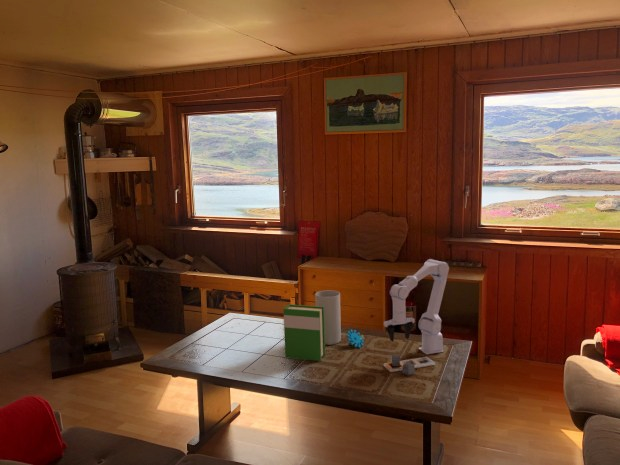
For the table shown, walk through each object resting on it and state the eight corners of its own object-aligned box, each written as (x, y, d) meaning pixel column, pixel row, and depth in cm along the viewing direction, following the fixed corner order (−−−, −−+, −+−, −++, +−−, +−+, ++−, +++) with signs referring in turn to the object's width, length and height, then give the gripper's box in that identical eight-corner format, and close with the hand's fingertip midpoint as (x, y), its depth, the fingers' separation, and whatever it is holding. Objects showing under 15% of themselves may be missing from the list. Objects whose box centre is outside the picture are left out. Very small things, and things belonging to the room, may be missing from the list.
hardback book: (325, 355, 245) (323, 306, 242) (320, 361, 238) (319, 311, 235) (290, 351, 251) (289, 304, 247) (285, 357, 244) (283, 308, 240)
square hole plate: (427, 359, 237) (427, 356, 237) (435, 364, 230) (435, 362, 230) (383, 366, 231) (383, 363, 231) (390, 372, 224) (390, 369, 224)
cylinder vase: (320, 346, 256) (318, 298, 252) (314, 337, 268) (312, 291, 264) (344, 343, 259) (343, 295, 255) (337, 335, 271) (336, 289, 267)
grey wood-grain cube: (408, 370, 225) (408, 362, 225) (414, 373, 222) (414, 365, 222) (402, 372, 223) (402, 364, 223) (408, 375, 220) (408, 366, 220)
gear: (354, 347, 249) (344, 329, 254) (347, 353, 252) (338, 336, 257) (369, 344, 256) (360, 327, 261) (362, 350, 260) (353, 333, 264)
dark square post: (398, 366, 230) (398, 353, 229) (399, 369, 227) (399, 356, 226) (390, 366, 230) (390, 353, 229) (391, 369, 227) (391, 356, 226)
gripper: (409, 306, 238) (409, 334, 240) (380, 310, 234) (381, 338, 236) (416, 310, 232) (416, 339, 234) (387, 315, 227) (388, 344, 230)
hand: (399, 339), depth 235 cm, fingers open, 7 cm apart
